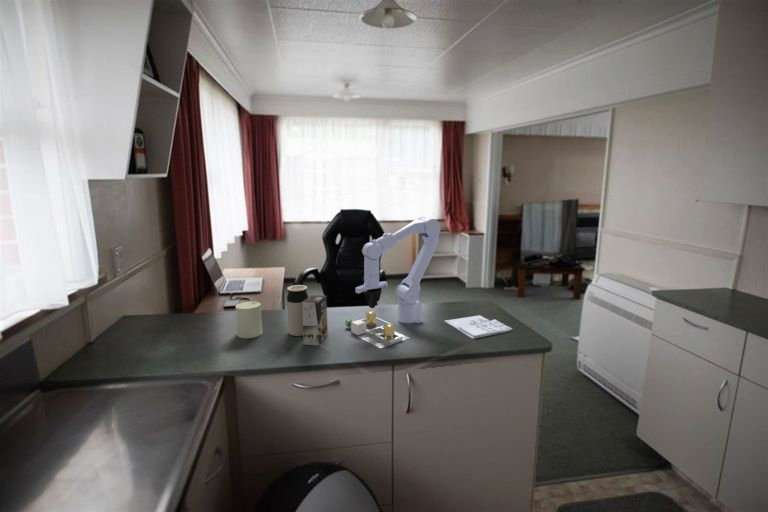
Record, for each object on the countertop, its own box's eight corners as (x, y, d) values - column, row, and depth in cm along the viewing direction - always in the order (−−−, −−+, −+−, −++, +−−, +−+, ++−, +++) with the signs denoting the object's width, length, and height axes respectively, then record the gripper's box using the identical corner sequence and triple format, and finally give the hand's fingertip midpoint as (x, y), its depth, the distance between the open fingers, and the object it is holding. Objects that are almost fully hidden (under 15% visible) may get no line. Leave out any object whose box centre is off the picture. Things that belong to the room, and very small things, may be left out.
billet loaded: (389, 336, 152) (389, 322, 151) (396, 340, 149) (397, 325, 148) (381, 339, 149) (381, 325, 148) (388, 343, 146) (388, 328, 145)
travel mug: (313, 332, 160) (312, 287, 156) (296, 338, 154) (294, 291, 150) (301, 327, 165) (299, 283, 161) (284, 332, 159) (282, 287, 156)
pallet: (386, 330, 161) (386, 324, 160) (409, 341, 151) (409, 334, 151) (357, 340, 152) (357, 333, 152) (380, 351, 142) (380, 344, 142)
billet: (371, 323, 168) (371, 310, 167) (378, 325, 165) (377, 312, 164) (363, 325, 166) (363, 312, 164) (370, 328, 163) (370, 314, 161)
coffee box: (320, 346, 147) (318, 302, 144) (303, 344, 148) (301, 301, 145) (328, 336, 156) (327, 295, 152) (312, 335, 157) (310, 294, 154)
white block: (359, 332, 159) (359, 319, 158) (366, 335, 156) (366, 322, 155) (351, 334, 157) (351, 321, 156) (357, 338, 154) (357, 324, 153)
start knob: (351, 325, 163) (350, 318, 162) (361, 330, 157) (361, 323, 157) (345, 326, 161) (345, 320, 160) (355, 332, 156) (355, 325, 155)
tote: (373, 319, 174) (373, 315, 174) (392, 327, 165) (392, 323, 164) (349, 326, 166) (349, 322, 166) (368, 334, 157) (368, 331, 157)
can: (267, 331, 161) (265, 301, 158) (250, 340, 152) (248, 308, 150) (249, 327, 164) (247, 299, 162) (232, 336, 156) (229, 305, 154)
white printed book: (472, 340, 153) (472, 335, 153) (443, 323, 171) (443, 318, 171) (513, 332, 161) (513, 327, 160) (481, 316, 179) (481, 311, 178)
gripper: (379, 269, 168) (379, 301, 170) (350, 274, 158) (351, 308, 161) (390, 272, 162) (390, 305, 165) (361, 278, 153) (362, 313, 156)
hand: (371, 307), depth 163 cm, fingers closed
